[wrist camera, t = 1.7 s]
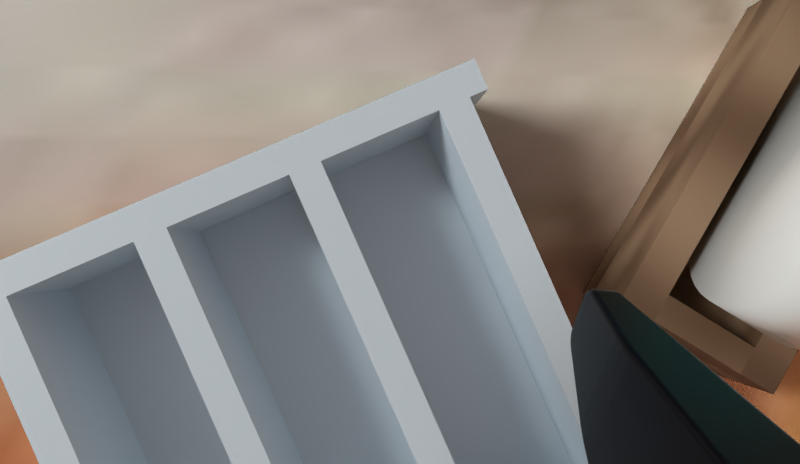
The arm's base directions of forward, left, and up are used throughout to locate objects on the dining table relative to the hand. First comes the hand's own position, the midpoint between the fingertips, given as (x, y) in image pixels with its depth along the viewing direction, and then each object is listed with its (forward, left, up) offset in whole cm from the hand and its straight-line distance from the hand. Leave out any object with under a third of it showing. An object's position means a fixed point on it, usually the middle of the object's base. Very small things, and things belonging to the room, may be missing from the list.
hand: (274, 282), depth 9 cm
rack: (-4, +2, -15) cm, 15 cm away
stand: (-4, -15, -15) cm, 22 cm away
